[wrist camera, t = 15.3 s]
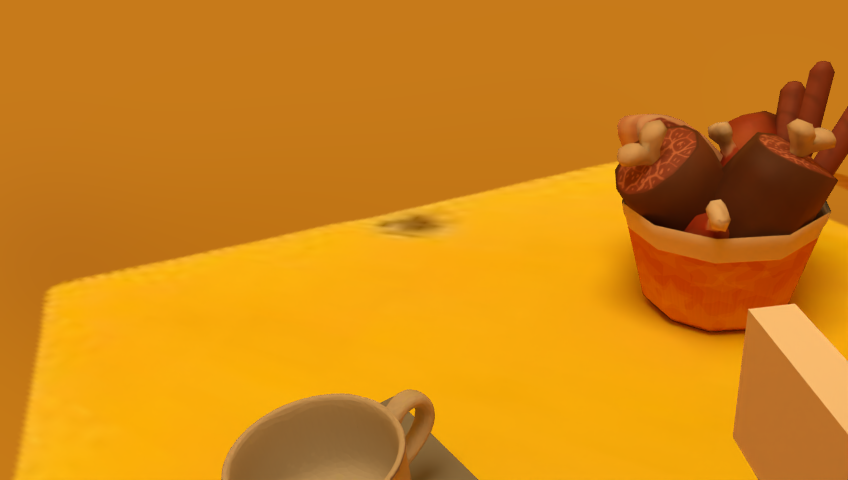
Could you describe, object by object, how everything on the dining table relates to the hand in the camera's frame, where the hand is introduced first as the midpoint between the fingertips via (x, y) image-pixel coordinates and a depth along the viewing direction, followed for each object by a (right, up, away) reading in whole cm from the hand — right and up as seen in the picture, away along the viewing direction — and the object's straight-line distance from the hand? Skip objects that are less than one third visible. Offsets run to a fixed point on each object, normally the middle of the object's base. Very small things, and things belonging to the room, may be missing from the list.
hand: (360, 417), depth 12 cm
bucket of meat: (+27, -2, +54) cm, 61 cm away
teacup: (-3, -16, +35) cm, 38 cm away
